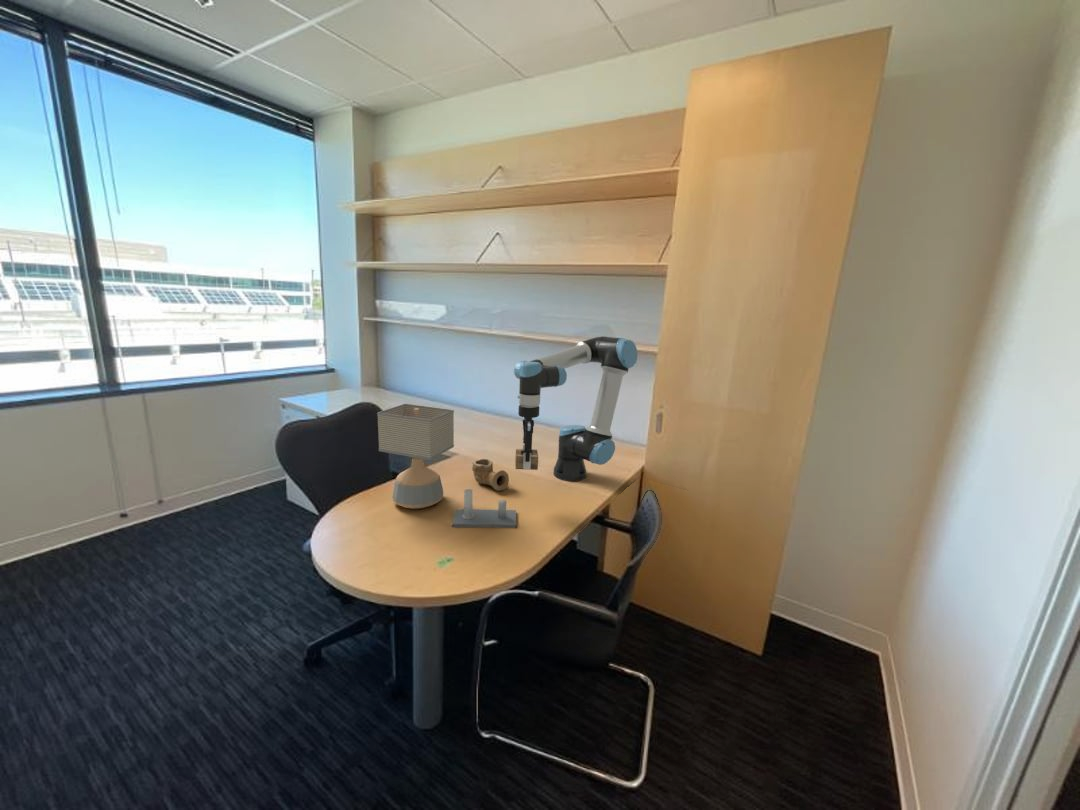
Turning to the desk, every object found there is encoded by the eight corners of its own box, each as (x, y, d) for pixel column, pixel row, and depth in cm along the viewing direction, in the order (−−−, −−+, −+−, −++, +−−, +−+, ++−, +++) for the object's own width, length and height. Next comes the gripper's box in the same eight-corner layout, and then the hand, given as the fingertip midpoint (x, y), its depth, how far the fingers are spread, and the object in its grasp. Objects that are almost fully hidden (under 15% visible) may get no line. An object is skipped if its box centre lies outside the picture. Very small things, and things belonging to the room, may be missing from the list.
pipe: (495, 494, 174) (495, 471, 172) (467, 483, 184) (467, 461, 182) (510, 488, 181) (510, 465, 179) (482, 477, 191) (482, 456, 189)
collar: (536, 462, 164) (537, 449, 163) (537, 469, 156) (538, 456, 155) (515, 461, 163) (515, 448, 162) (515, 469, 155) (516, 456, 154)
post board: (515, 512, 160) (516, 484, 158) (515, 527, 150) (516, 498, 147) (456, 511, 159) (456, 484, 156) (451, 526, 148) (451, 497, 146)
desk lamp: (455, 496, 171) (455, 406, 163) (428, 517, 154) (427, 418, 145) (409, 487, 178) (407, 400, 170) (378, 506, 160) (374, 410, 152)
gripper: (518, 398, 164) (515, 455, 169) (519, 411, 144) (516, 475, 149) (537, 399, 165) (534, 455, 170) (541, 412, 145) (538, 475, 150)
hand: (526, 464), depth 160 cm, fingers closed on collar, 8 cm apart
